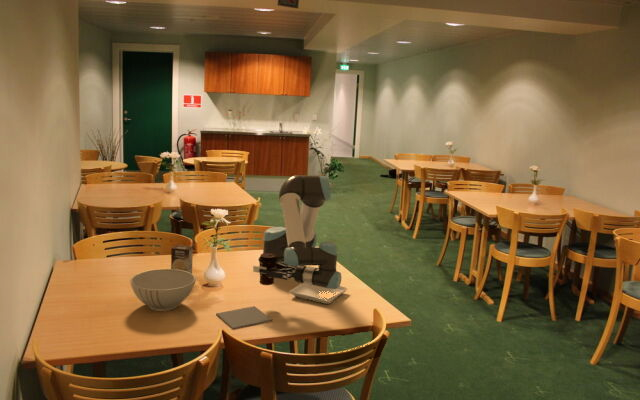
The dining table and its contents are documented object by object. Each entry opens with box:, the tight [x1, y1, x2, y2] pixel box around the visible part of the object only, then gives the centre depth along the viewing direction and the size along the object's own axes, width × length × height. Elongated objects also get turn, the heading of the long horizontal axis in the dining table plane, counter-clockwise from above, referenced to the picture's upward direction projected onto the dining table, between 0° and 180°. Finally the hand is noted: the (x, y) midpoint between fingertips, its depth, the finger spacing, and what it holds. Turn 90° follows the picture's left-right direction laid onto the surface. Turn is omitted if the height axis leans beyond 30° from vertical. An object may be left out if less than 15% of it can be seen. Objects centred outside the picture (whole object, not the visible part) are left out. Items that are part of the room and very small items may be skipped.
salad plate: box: [289, 283, 348, 305], centre depth 264 cm, size 21×21×3 cm
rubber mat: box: [215, 306, 273, 330], centre depth 234 cm, size 18×16×1 cm
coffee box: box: [170, 244, 194, 274], centre depth 274 cm, size 9×6×16 cm
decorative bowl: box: [129, 268, 197, 312], centre depth 240 cm, size 27×27×12 cm
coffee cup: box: [257, 252, 278, 286], centre depth 247 cm, size 9×8×13 cm
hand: (257, 265), depth 249 cm, fingers closed on coffee cup, 7 cm apart
